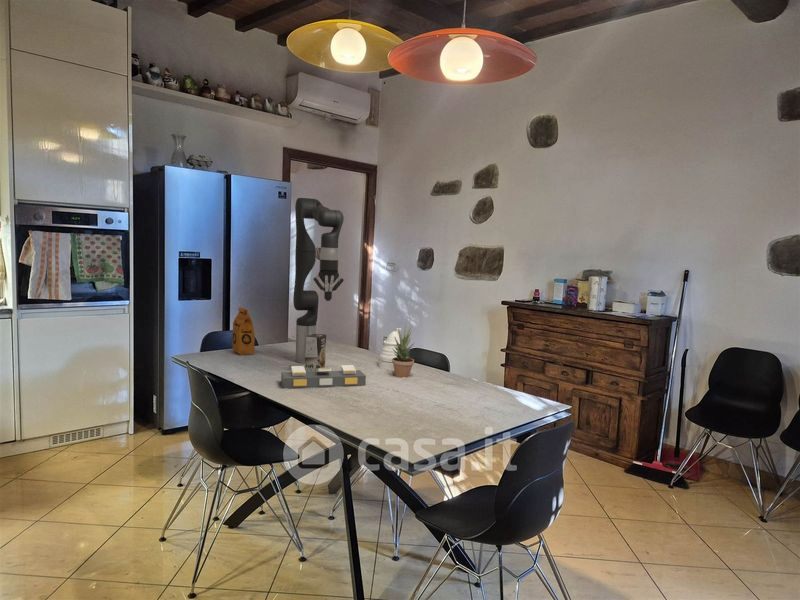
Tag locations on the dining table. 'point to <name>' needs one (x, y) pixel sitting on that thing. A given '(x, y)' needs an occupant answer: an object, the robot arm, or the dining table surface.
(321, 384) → the switch box
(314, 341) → the coffee box
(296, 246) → the robot arm
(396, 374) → the potted plant
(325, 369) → the switch
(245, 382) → the dining table surface
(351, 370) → the switch
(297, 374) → the switch
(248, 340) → the coffee package
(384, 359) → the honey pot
